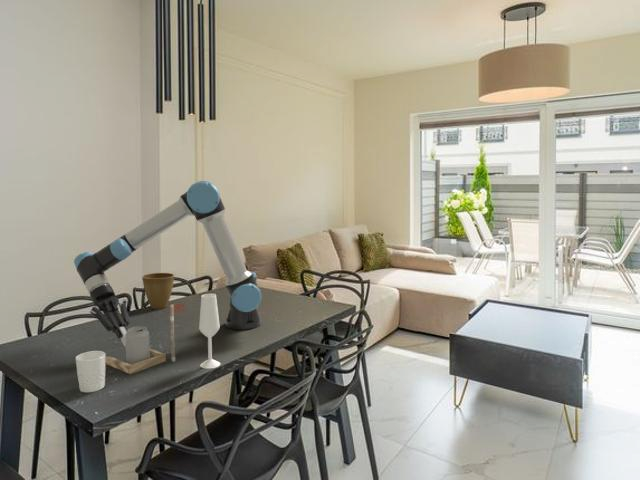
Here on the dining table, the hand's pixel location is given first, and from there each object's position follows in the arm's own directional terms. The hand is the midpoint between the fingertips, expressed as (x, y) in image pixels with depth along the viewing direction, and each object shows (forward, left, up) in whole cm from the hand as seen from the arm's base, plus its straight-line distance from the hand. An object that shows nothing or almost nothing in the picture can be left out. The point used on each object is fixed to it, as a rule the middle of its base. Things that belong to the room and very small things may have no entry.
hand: (128, 344), depth 154 cm
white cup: (-2, +21, -6) cm, 22 cm away
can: (-5, +2, -6) cm, 8 cm away
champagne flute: (-29, -2, -6) cm, 30 cm away
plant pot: (+25, -64, -6) cm, 69 cm away
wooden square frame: (-3, 0, -6) cm, 6 cm away
